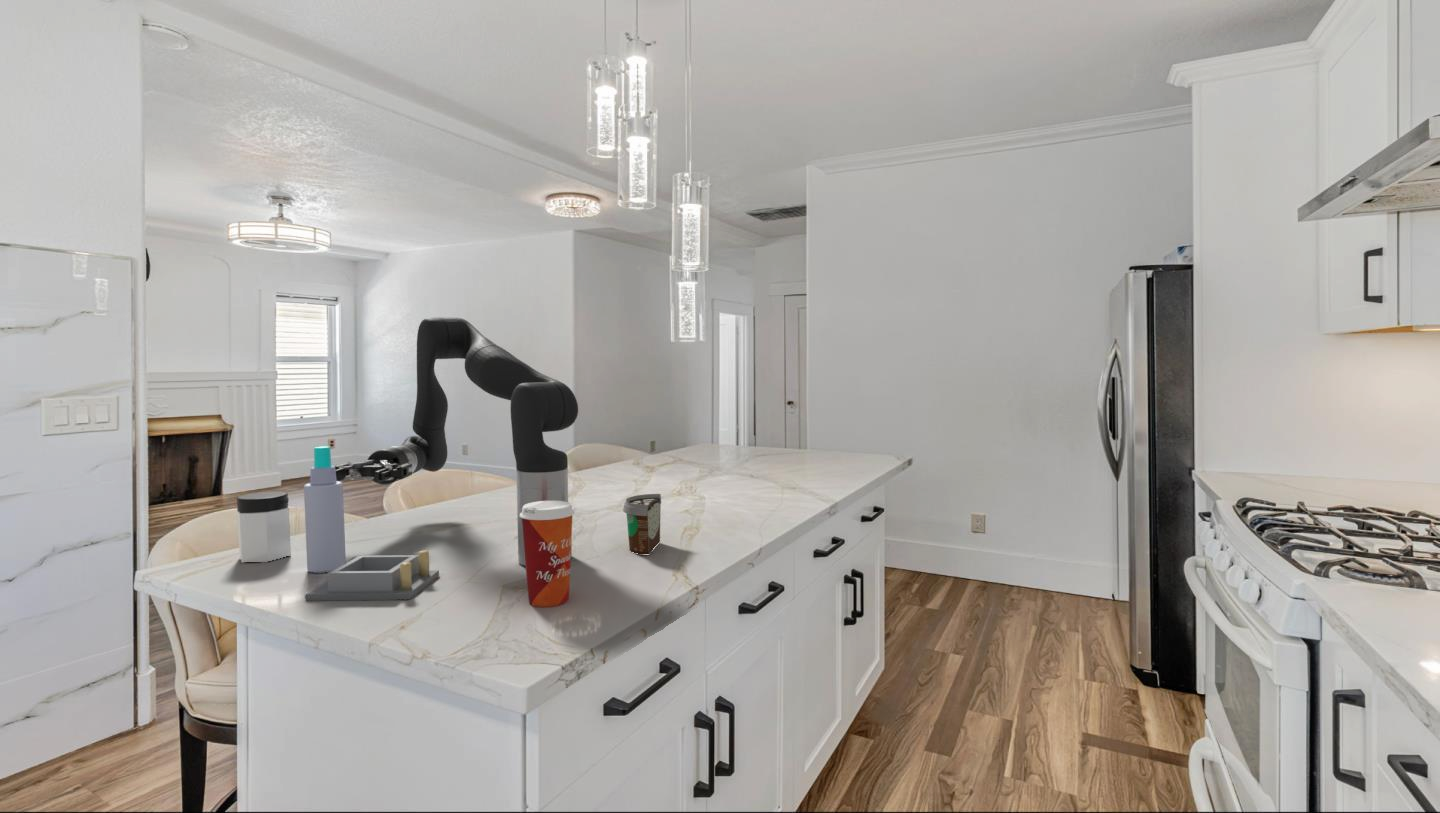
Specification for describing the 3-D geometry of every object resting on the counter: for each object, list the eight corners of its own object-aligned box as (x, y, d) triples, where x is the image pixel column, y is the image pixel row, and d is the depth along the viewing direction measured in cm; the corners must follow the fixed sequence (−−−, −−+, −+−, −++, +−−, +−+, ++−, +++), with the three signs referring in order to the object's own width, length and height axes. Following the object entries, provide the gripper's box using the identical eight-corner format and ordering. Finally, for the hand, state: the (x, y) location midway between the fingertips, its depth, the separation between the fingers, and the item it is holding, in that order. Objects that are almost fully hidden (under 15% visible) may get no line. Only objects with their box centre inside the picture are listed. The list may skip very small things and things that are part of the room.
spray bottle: (309, 576, 120) (304, 450, 119) (305, 567, 125) (300, 446, 124) (348, 569, 124) (343, 447, 122) (343, 562, 129) (338, 444, 127)
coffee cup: (548, 613, 101) (546, 512, 101) (509, 603, 106) (507, 506, 105) (587, 597, 109) (586, 502, 108) (550, 588, 113) (548, 497, 112)
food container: (632, 540, 144) (632, 492, 143) (661, 541, 143) (661, 493, 142) (615, 556, 132) (615, 504, 131) (647, 557, 131) (646, 505, 130)
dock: (439, 576, 120) (438, 547, 119) (409, 599, 108) (408, 568, 108) (345, 577, 120) (344, 548, 119) (305, 600, 108) (304, 569, 107)
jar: (294, 558, 131) (291, 495, 131) (242, 566, 126) (239, 501, 125) (287, 548, 138) (284, 489, 137) (237, 556, 133) (234, 494, 132)
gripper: (359, 446, 151) (317, 457, 134) (425, 447, 151) (391, 458, 135) (360, 481, 151) (318, 495, 135) (426, 481, 151) (392, 496, 135)
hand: (354, 477), depth 135 cm, fingers open, 8 cm apart
